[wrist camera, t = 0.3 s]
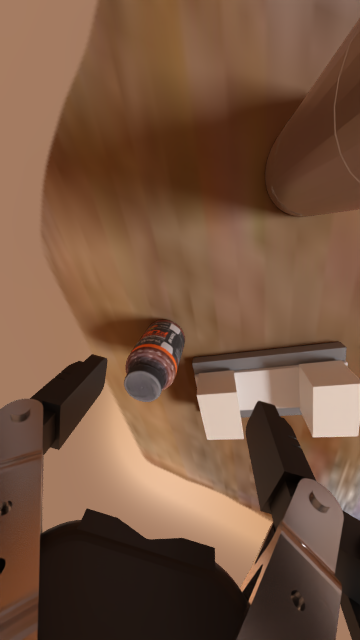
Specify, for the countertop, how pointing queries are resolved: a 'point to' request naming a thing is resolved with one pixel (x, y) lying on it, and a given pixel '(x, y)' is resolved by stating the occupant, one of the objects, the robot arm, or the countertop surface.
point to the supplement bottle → (154, 361)
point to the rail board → (279, 389)
